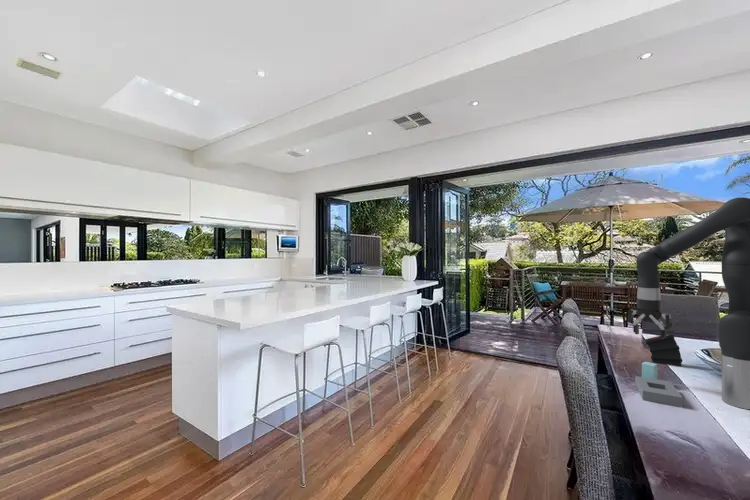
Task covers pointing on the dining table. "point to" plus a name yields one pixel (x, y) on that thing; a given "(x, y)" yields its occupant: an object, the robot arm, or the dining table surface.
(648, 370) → the teal rectangular block
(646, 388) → the grey slotted block
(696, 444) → the dining table surface
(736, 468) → the dining table surface
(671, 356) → the black ridged block
